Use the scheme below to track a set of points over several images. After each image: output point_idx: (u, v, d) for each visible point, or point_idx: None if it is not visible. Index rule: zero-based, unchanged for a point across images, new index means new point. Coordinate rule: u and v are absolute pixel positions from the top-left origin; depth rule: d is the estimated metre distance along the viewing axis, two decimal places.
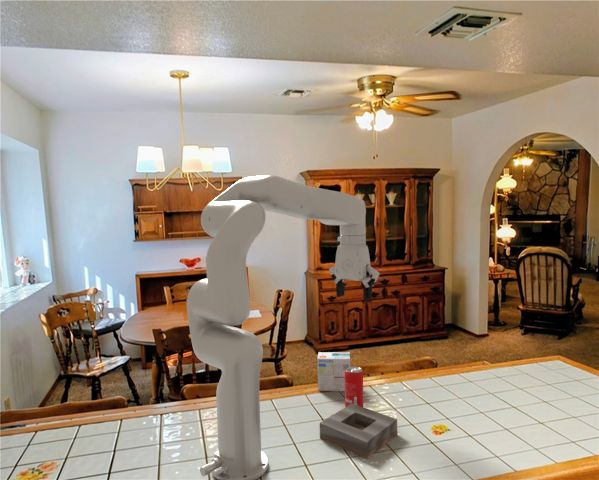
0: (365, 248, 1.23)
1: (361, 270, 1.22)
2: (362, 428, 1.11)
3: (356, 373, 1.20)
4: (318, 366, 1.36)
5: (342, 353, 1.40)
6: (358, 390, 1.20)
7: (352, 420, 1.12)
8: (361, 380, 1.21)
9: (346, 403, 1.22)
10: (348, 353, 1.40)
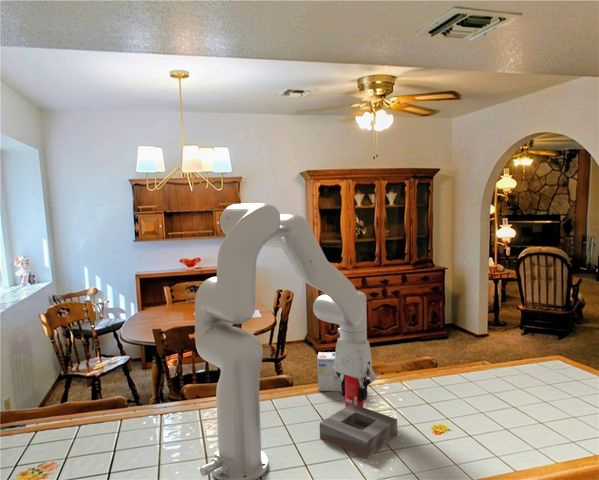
0: (366, 345, 1.18)
1: (362, 369, 1.17)
2: (362, 428, 1.11)
3: None
4: (318, 366, 1.36)
5: None
6: None
7: (352, 420, 1.12)
8: None
9: (346, 403, 1.22)
10: None
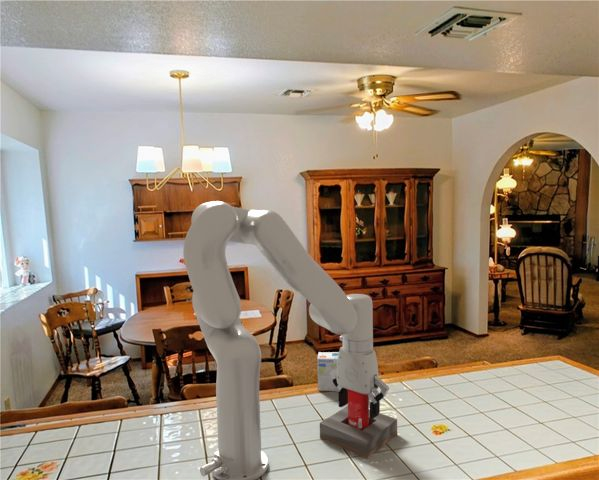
0: (372, 355, 1.04)
1: (368, 383, 1.03)
2: None
3: None
4: (318, 366, 1.36)
5: None
6: (363, 411, 1.06)
7: None
8: (366, 399, 1.06)
9: (349, 425, 1.07)
10: None
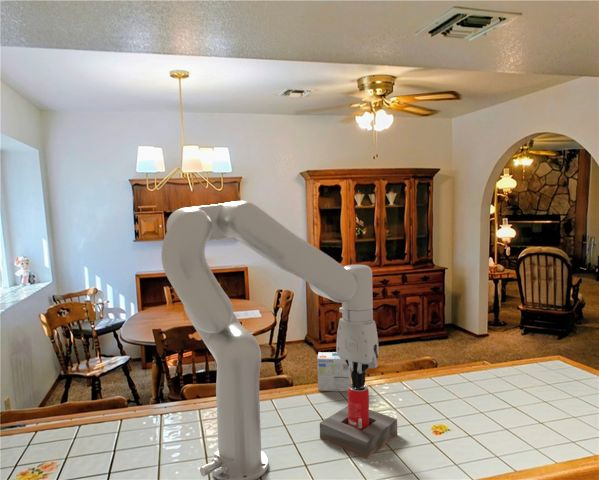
0: (372, 325, 1.03)
1: (367, 352, 1.02)
2: None
3: (361, 391, 1.05)
4: (318, 366, 1.36)
5: None
6: (363, 411, 1.06)
7: None
8: (366, 399, 1.06)
9: (349, 425, 1.07)
10: None
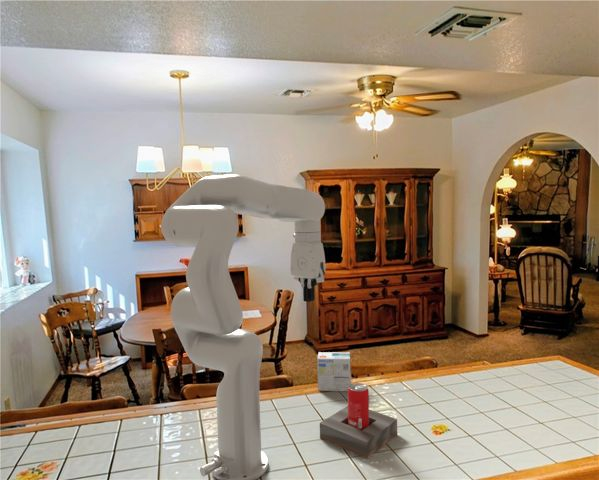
0: (319, 245, 1.21)
1: (314, 268, 1.19)
2: None
3: (361, 391, 1.05)
4: (318, 366, 1.36)
5: (342, 353, 1.40)
6: (363, 411, 1.06)
7: None
8: (366, 399, 1.06)
9: (349, 425, 1.07)
10: (348, 353, 1.40)
